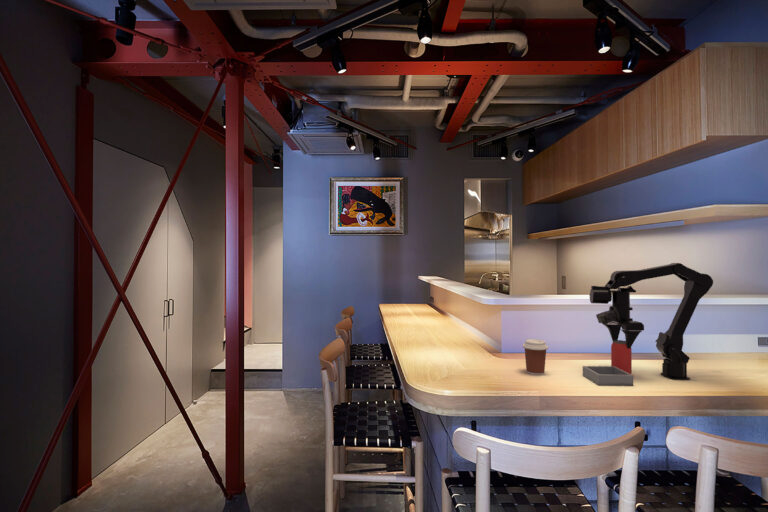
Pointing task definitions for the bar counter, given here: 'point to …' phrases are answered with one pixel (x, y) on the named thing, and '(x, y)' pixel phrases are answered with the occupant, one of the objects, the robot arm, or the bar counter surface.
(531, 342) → the coffee cup
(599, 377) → the tray
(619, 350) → the beer can
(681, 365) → the robot arm
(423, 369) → the bar counter surface
